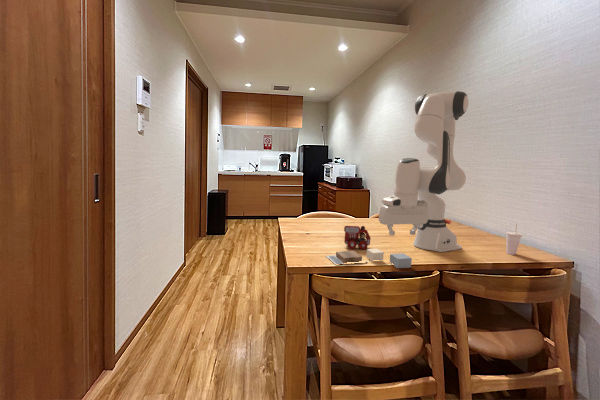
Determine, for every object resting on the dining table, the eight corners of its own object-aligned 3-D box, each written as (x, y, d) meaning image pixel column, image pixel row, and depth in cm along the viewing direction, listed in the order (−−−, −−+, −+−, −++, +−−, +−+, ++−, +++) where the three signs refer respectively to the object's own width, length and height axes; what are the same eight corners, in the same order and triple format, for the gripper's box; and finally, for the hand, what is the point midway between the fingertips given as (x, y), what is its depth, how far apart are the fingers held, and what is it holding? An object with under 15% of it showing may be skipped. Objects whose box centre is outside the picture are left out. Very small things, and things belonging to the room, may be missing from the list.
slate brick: (402, 262, 132) (403, 253, 132) (410, 267, 126) (411, 258, 126) (389, 263, 131) (390, 253, 130) (397, 268, 125) (398, 258, 124)
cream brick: (376, 257, 137) (377, 248, 137) (383, 261, 133) (383, 252, 132) (366, 258, 136) (366, 249, 135) (372, 262, 131) (372, 252, 130)
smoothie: (514, 256, 144) (518, 226, 142) (499, 252, 150) (503, 223, 147) (522, 254, 147) (526, 225, 145) (508, 250, 153) (512, 222, 150)
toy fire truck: (371, 250, 147) (372, 228, 145) (344, 249, 147) (345, 227, 145) (368, 245, 154) (369, 224, 152) (342, 244, 154) (343, 223, 152)
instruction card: (355, 254, 140) (355, 253, 140) (367, 263, 129) (367, 262, 129) (325, 256, 136) (325, 255, 136) (335, 265, 126) (335, 264, 125)
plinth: (353, 255, 138) (353, 250, 138) (361, 261, 130) (362, 256, 130) (335, 256, 136) (336, 251, 135) (343, 262, 128) (343, 258, 128)
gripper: (422, 199, 130) (419, 232, 132) (378, 199, 124) (375, 233, 126) (433, 201, 124) (429, 236, 126) (386, 201, 118) (383, 237, 120)
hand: (402, 234), depth 126 cm, fingers open, 8 cm apart
